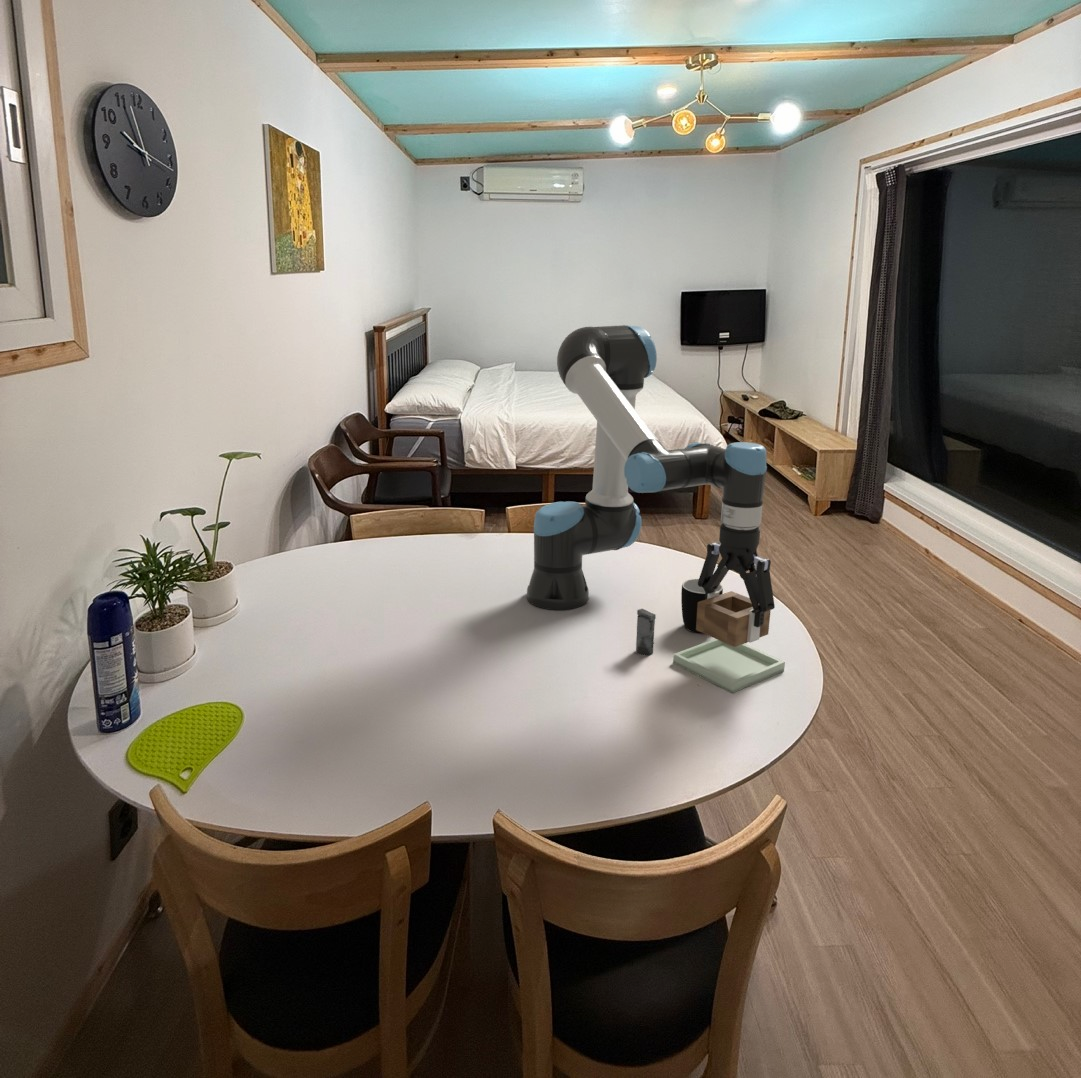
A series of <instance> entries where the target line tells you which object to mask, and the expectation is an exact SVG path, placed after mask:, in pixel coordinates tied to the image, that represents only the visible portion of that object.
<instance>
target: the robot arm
mask: <svg viewBox="0 0 1081 1078" xmlns="http://www.w3.org/2000/svg"><path fill="white" fill-rule="evenodd" d="M558 348H559V349H558V352H557V357H556V364H557V371H558V375H559V377H560V379H561V381H562V383H563V384H564V385H565V387H566V388H567V390H568V391H569V392H571V393H573V394H576V395H577V396H578V397H579V399H581V401H582V403H583V404H584V405H585V406H586V407H587V409H588V411H589V412H590V413H591V415H592V416H593V418H594V419H595V420H596V431H595V433H596V434H595V447H594V448H595V449H594V462H593V476H592V490H590V491H589V492H588V493H586V496H585V505H584V506H583V505H582V503H580V502H577V501H570V500H568V501H567V500H566V501H561V500H560V501H556V502H550V503H548V504H545V505H543V506H541V507H540V508H539V509H537V511H536V512H535V513H534V514H535V515H534V521H533V522H534V523H533V528H532V529H533V570H532V574H531V577H530V581H529V584H528V586H527V589H526V599H527V601H528V603H530V604H531V605H533V606H535V607H538V608H541V609H546V610H554V611H556V610H558V611H560V610H561V611H562V610H572V609H576V608H579V607H582V606H584V605H585V604H587V602H588V601H589V594H590V593H589V587H588V584H587V580H586V577H585V574H584V572H583V556H586V555H591V554H597V553H603V552H608V551H618V550H622V549H623V548H624V549H625V548H628V547H630V546H632V545H634V543H636V541H637V539H639V535H640V532H641V529H642V516H641V515H640V511H641V510H640V509H639V506H638V505H637V504H636V503H635V502H634V497H633V496H632V495H631V493H629V489H630V490H631V491H633V492H634V493H638V494H640V493H641V494H644V493H646V494H647V493H657V492H661V491H668V490H674V489H682V488H691V487H698V486H703V485H705V486H707V485H708V486H712V487H714V488H718V489H721V490H722V497H721V514H720V522H721V524H720V525H719V535H718V536H719V537H718V538H719V539H718V541H716V542H712V543H708V544H707V546H706V557H705V560H704V561H703V562H704V563H703V566H702V568H701V572H700V575H699V577H698V579H699V580H698V586H699V587H703V588H704V591H705V600H706V599H709V598H712V597H715V596H718V595H719V593H720V592H718V591H715V590H717V589H719V588H718V586H719V584H721V583H722V581H723V580H724V578H725V577H726V575H727V574H728V572H729V571H734V572H735V573H737V574H739V577H740V578H741V579H742V580H743V582H744V585H745V588H746V591H747V592H746V593H747V595H748V598H750V601H751V604H752V606H753V610H750V613H749V625H748V636H747V643H749V644H750V643H753V642H756V641H759V640H760V638H759V635H760V627H761V626H763V624H764V613H765V612H766V611H769V610H771V611H772V610H774V609H775V600H774V599H775V598H774V592H773V585H772V579H771V578H772V577H771V571H770V570H771V563H772V561H771V559H770V558H762V557H760V556H759V555H758V552H757V549H758V547H759V545H760V537H761V527H760V525H761V524H762V519H763V518H762V515H763V506H764V505H763V502H764V501H763V500H764V492H765V482H766V473H767V470H768V466H767V449H766V448H765V446H764V445H762V444H760V443H756V442H745V441H742V442H741V441H739V442H738V441H737V442H731V443H729V444H727V446H726V448H723V447H718V446H716V445H713V444H710V443H706V442H705V443H703V442H693V443H690V444H688V445H687V446H686V447H684V448H680V449H679V448H678V449H666V448H665V446H664V445H663V444H662V442H661V441H660V440H659V439H658V438H657V436H656V435H655V433H653V431H652V430H651V428H650V427H649V425H648V424H647V423H646V422H645V421H644V419H643V418H642V416H641V415H640V414H639V413H638V412H637V410H636V400H637V398H636V397H637V395H638V393H640V392H641V391H642V390H643V389H644V385H645V379H646V378H648V377H651V375H652V374H653V372H654V371H655V369H656V366H657V360H658V359H657V354H658V353H657V348H656V345H655V342H654V340H653V338H652V336H651V334H650V333H649V331H647V329H645V328H643V327H641V326H636V325H626V324H625V325H624V324H623V325H608V326H607V325H606V326H583V327H579V328H577V329H575V330H573V331H571V332H570V333H569V334H567V336H566V337H565V338H564V340H562V342H561V345H560V346H559V347H558ZM720 557H721V559H720V561H719V562H718V560H719V558H720ZM716 566H717V567H716Z"/></svg>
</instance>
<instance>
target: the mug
mask: <svg viewBox="0 0 1081 1078" xmlns="http://www.w3.org/2000/svg"><path fill="white" fill-rule="evenodd" d="M698 580H699V578H692V579H688V580H685V581H683V583H682V585H681V593H680V595H681V597H680V598H681V599H680V600H681V601H680V602H681V603H680V604H681V614H682V616H681V617H682V622H683V625H684V627H685V629H686V630H688V631H689V632H691V633H695V634H696V633H697V634H703V633H702V632H700V631H698V630H696V621H697V606H698V602H700V601H703V600H705V591H704V588H703V587H699V586H698ZM718 588H719V589H717V590H715V591H718V592H720V593H719V595H721V594H724V592H723V591H724V588H723V585H722V584H721V583H720V584H719V586H718Z"/></svg>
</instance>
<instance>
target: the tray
mask: <svg viewBox="0 0 1081 1078" xmlns="http://www.w3.org/2000/svg"><path fill="white" fill-rule="evenodd" d="M672 657H673V659H672V660H673V661H672V663H673V664H674V665H677V666H678V667H680V668H682V669H684V670H686V671H688V672H690V673H691V674H694V675H696V676H697V677H700V678H701V679H703V680H705V681H707V682H709V683H711V684H713V685H715V686H717V687H719V688H721V689H723V690H725V691H726V692H728V693H731V694H735V693H736V692H739V691H741V690H743V689H746V688H748V687H750V686H753V685H755V684H757V683H760V682H762V681H764V680H766V679H769V678H771V677H773V676H776V675H778V674H780V673H782V672H784V671H785V665H786V662H785V661H783V660H782V659H780V658H777V657H775V656H772V655H771V654H769V653H766V652H764V651H761V650H760V649H757V648H755V647H753V646H750V645H748V644H747V643H744V644H742V645H739V646H737V647H733V646H731V645H728V644H726V643H724V642H722V641H720V640H717V639H715V638H713V639H711V640H708V641H705V642H702V643H700V644H696V645H694V646H692V647H689V648H686V649H684V650H681V651H678V652H675V653H673V656H672Z"/></svg>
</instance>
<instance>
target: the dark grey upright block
mask: <svg viewBox="0 0 1081 1078" xmlns="http://www.w3.org/2000/svg"><path fill="white" fill-rule="evenodd" d="M636 612H637V613H636V615H637V617H636V618H637V619H636V620H637V622H636V639H635V641H636V643H635V653H636V654H637V655H639V656H651V655H653V653H654V645H655V644H654V643H655V642H654V641H655V625H656V619H657V618H656V615H657V614H655V613H653V612H651V611H648V610H646V609H644V608H639V609H637V610H636Z"/></svg>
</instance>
